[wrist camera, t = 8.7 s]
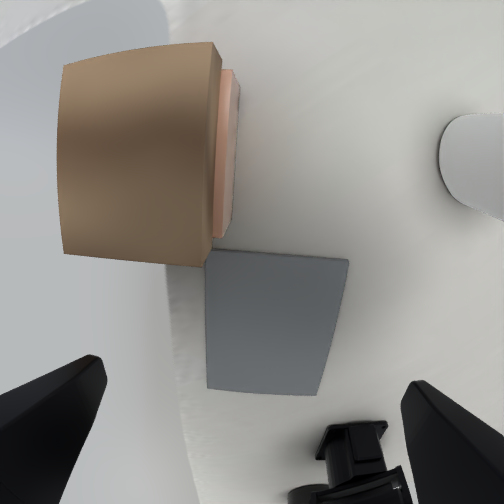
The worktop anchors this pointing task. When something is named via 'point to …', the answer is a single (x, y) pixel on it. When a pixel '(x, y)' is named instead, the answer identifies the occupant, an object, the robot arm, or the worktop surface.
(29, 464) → the robot arm
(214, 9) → the worktop surface
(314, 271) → the mat
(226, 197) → the pink square box
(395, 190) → the worktop surface
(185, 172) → the lid
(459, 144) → the can
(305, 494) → the supplement bottle
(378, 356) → the worktop surface
